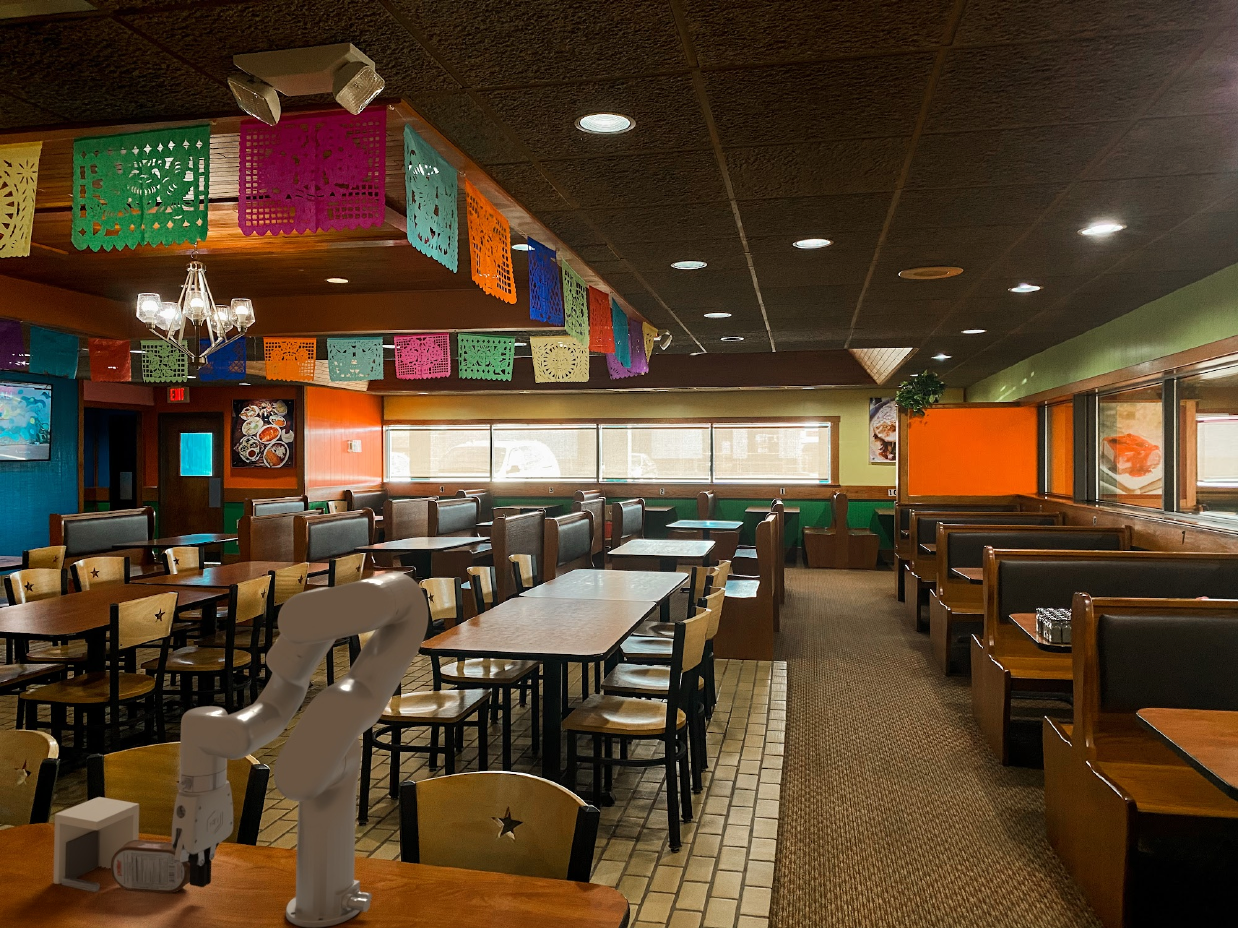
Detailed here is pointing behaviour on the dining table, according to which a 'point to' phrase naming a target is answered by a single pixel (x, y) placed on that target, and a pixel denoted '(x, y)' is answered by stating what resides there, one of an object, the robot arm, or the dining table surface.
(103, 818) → the white u-channel
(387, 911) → the dining table surface
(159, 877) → the tin
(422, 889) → the dining table surface
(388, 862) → the dining table surface
